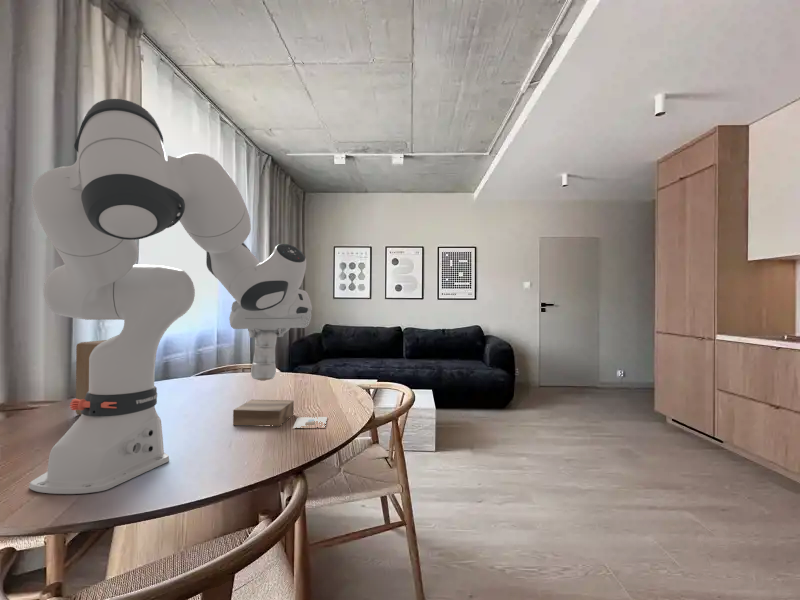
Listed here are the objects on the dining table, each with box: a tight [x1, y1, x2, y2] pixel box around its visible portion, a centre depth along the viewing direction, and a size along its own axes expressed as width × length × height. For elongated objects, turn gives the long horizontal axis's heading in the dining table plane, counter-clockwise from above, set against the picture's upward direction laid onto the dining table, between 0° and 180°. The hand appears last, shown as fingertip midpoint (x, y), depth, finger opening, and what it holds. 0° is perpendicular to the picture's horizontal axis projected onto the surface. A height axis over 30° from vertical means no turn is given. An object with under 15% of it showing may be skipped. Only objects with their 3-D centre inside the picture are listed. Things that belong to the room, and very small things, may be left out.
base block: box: [232, 399, 295, 427], centre depth 119 cm, size 12×12×4 cm
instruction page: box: [292, 416, 328, 429], centre depth 116 cm, size 10×8×1 cm
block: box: [75, 339, 107, 416], centre depth 125 cm, size 10×10×20 cm
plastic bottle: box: [250, 328, 279, 382], centre depth 119 cm, size 6×7×20 cm
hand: (266, 335), depth 120 cm, fingers closed on plastic bottle, 6 cm apart
